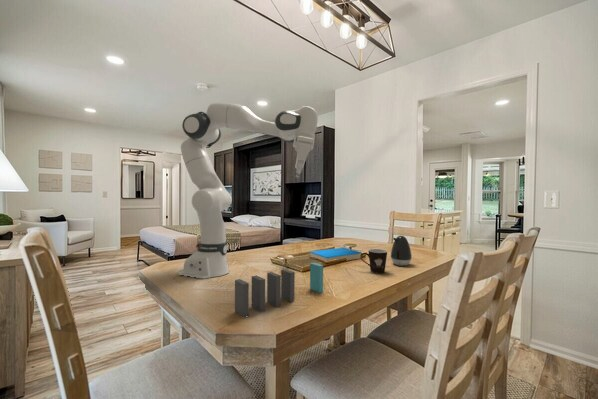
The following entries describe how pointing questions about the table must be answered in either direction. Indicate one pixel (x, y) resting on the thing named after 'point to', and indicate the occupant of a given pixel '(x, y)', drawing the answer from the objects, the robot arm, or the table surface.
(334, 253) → the book
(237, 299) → the domino
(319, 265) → the domino
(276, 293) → the domino
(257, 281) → the domino
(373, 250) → the coffee mug
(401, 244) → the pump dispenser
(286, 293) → the domino
